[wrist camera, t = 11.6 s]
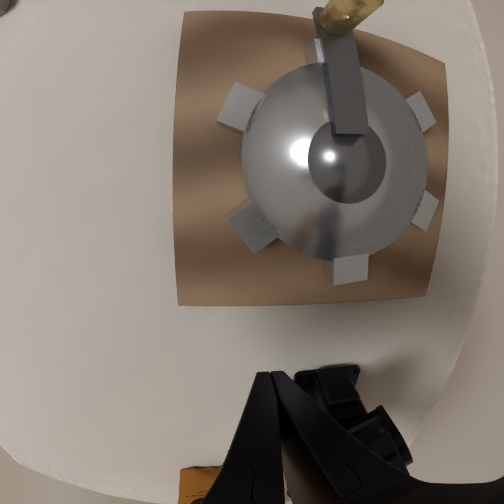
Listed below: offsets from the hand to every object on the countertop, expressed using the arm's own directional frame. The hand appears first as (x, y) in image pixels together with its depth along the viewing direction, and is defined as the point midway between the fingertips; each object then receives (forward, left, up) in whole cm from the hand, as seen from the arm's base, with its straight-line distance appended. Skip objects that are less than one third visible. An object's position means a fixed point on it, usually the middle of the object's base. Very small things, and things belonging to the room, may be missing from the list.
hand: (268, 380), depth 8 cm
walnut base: (+7, -6, -12) cm, 15 cm away
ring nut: (+7, -6, -10) cm, 14 cm away
